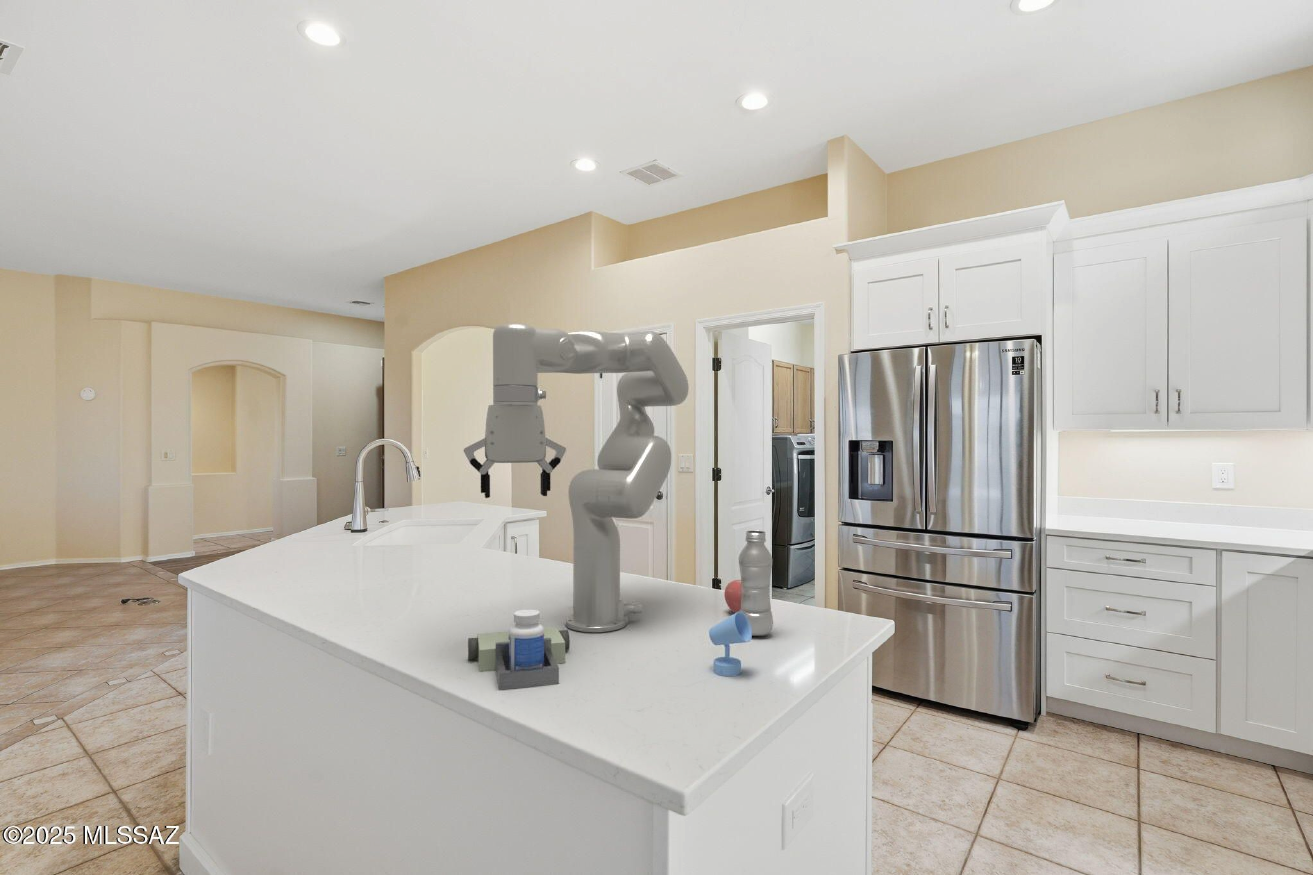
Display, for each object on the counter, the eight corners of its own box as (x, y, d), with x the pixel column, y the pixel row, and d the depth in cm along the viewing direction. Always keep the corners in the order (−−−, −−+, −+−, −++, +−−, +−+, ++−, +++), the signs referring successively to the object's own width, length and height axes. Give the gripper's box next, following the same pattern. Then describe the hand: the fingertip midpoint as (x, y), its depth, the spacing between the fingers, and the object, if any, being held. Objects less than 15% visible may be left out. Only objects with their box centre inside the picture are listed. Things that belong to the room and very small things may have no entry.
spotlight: (755, 671, 107) (717, 663, 111) (755, 610, 107) (717, 604, 111) (742, 680, 103) (703, 672, 107) (743, 617, 103) (704, 610, 107)
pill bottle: (550, 673, 105) (551, 612, 105) (522, 682, 101) (523, 619, 101) (530, 665, 109) (530, 606, 109) (502, 673, 105) (502, 612, 105)
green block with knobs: (565, 645, 120) (565, 623, 120) (574, 661, 111) (574, 637, 111) (467, 654, 115) (468, 631, 115) (469, 672, 106) (469, 647, 106)
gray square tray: (550, 664, 110) (550, 637, 110) (558, 683, 102) (558, 654, 102) (495, 669, 108) (495, 642, 108) (499, 690, 99) (499, 660, 99)
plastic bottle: (765, 642, 123) (765, 535, 123) (732, 636, 126) (732, 532, 126) (778, 633, 128) (778, 531, 128) (746, 628, 132) (746, 528, 132)
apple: (735, 607, 148) (735, 572, 148) (764, 612, 144) (764, 576, 144) (718, 614, 142) (718, 577, 142) (748, 620, 138) (748, 582, 138)
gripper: (561, 399, 119) (561, 492, 119) (462, 397, 114) (463, 496, 114) (569, 396, 112) (569, 496, 112) (464, 395, 107) (464, 500, 107)
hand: (515, 496), depth 113 cm, fingers open, 9 cm apart
